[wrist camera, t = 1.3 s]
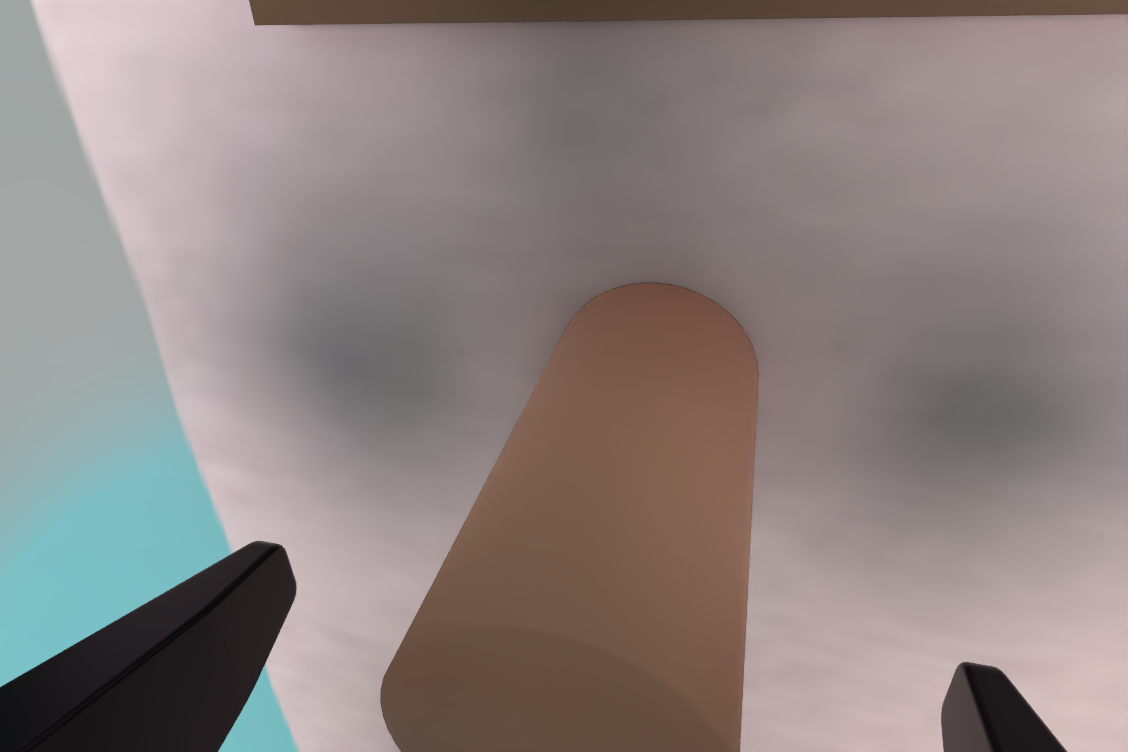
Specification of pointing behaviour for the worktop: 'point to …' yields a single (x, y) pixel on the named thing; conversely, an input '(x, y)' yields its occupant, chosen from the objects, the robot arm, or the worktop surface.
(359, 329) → the worktop surface
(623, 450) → the terracotta pin
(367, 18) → the board
